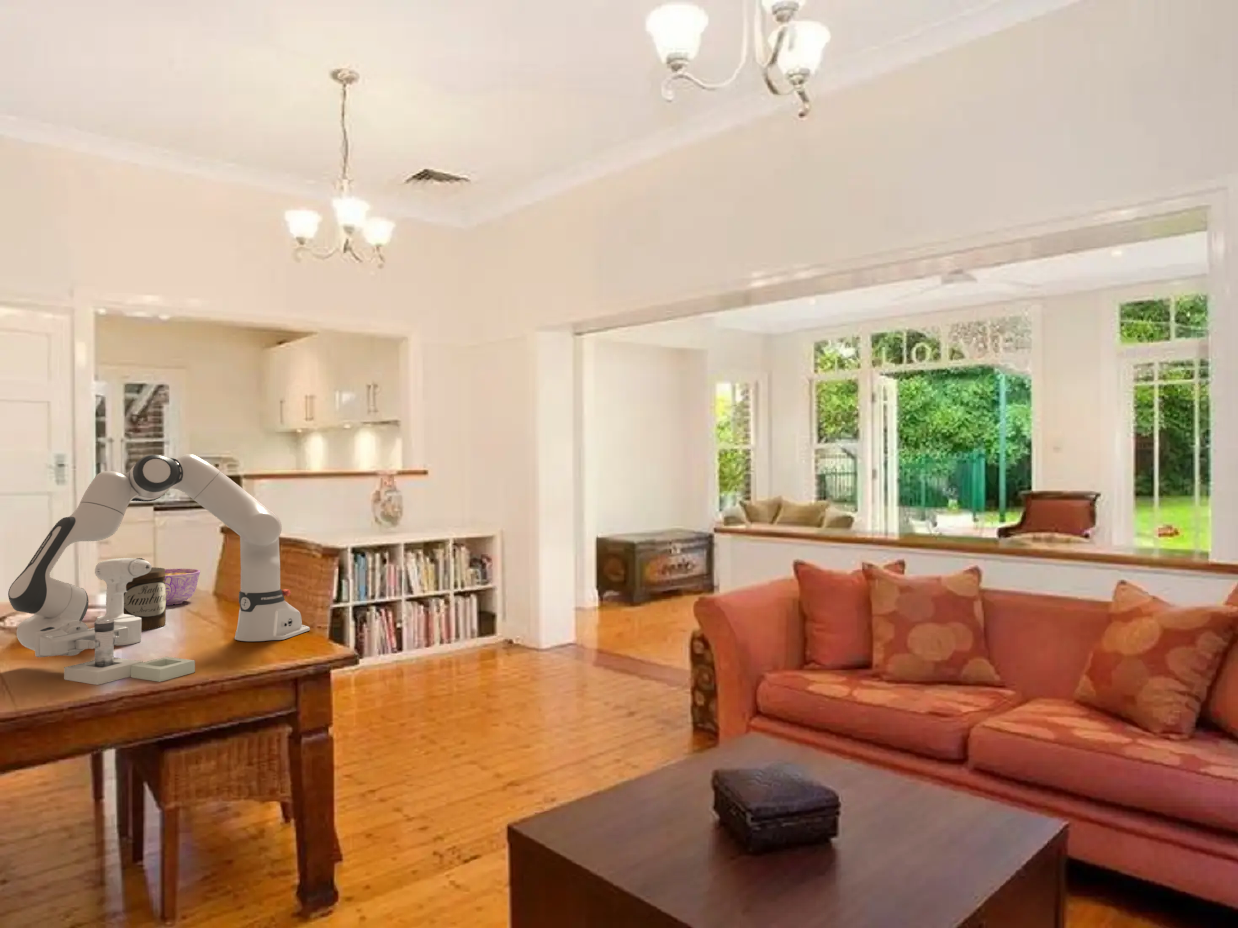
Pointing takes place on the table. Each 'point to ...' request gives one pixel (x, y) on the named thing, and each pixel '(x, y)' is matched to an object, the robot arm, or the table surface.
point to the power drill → (121, 592)
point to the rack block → (162, 669)
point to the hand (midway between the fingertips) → (106, 642)
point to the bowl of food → (180, 584)
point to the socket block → (99, 671)
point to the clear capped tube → (104, 642)
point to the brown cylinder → (147, 598)
